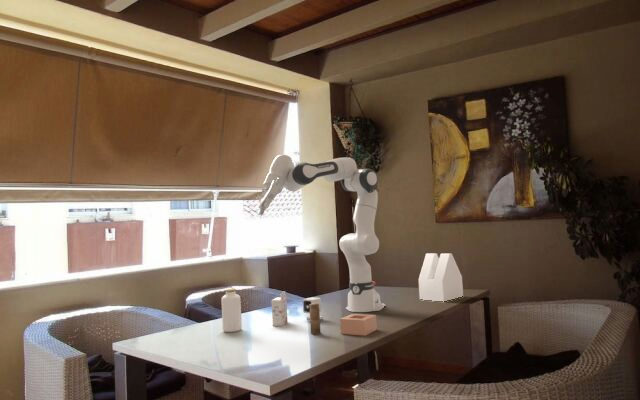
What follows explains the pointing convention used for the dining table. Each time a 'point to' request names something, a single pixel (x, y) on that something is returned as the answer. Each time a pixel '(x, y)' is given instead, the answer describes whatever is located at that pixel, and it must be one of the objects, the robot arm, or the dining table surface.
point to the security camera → (309, 301)
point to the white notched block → (440, 278)
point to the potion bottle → (231, 311)
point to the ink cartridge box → (279, 310)
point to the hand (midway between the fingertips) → (263, 211)
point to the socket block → (358, 324)
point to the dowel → (314, 318)
